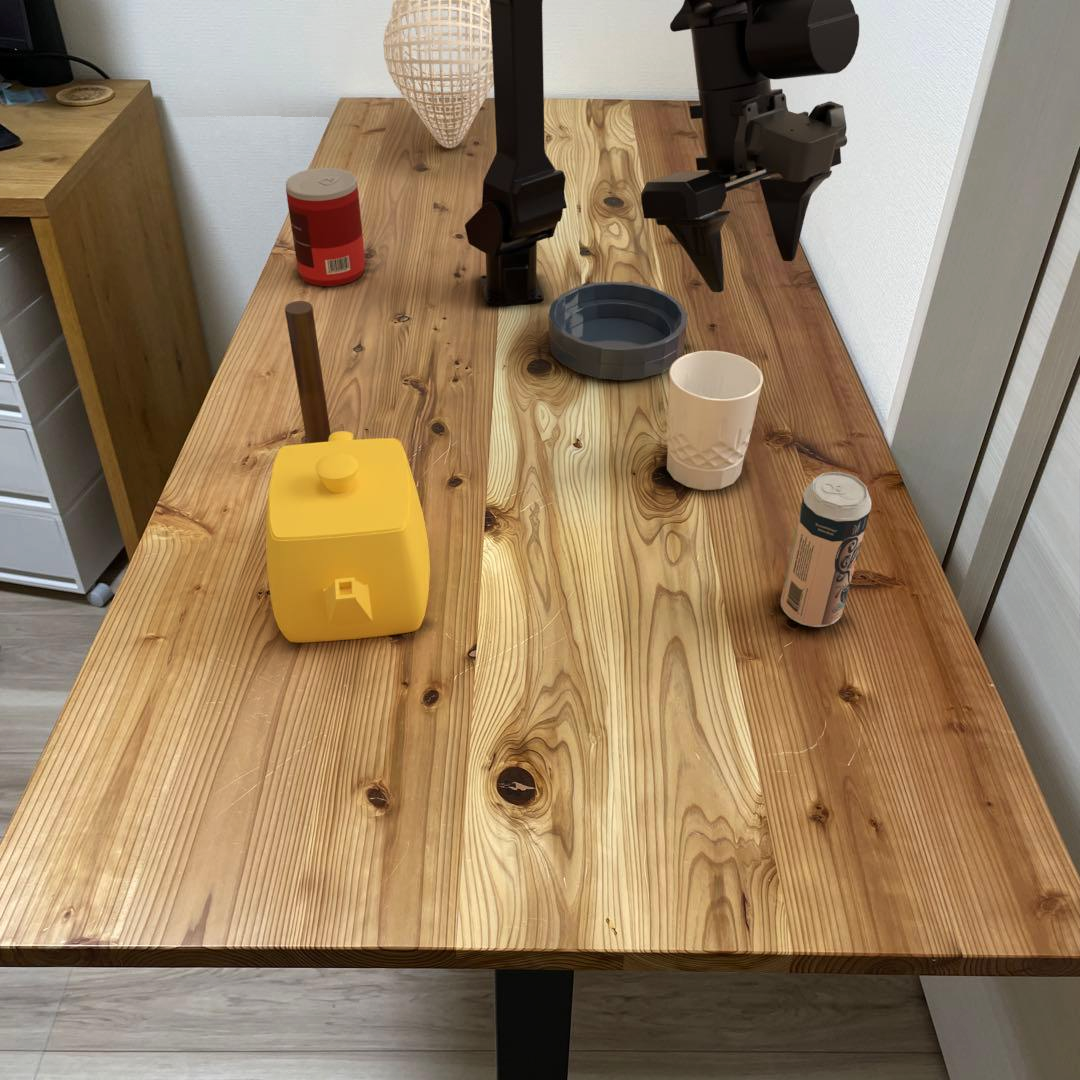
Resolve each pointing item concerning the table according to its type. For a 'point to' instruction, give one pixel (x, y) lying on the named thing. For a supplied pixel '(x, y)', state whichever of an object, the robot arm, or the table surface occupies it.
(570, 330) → the bowl
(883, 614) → the table surface
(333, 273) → the canned food
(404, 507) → the teapot
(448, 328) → the table surface
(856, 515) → the beer can
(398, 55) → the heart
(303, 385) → the stirring stick
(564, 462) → the table surface
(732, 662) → the table surface
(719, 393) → the white cup
